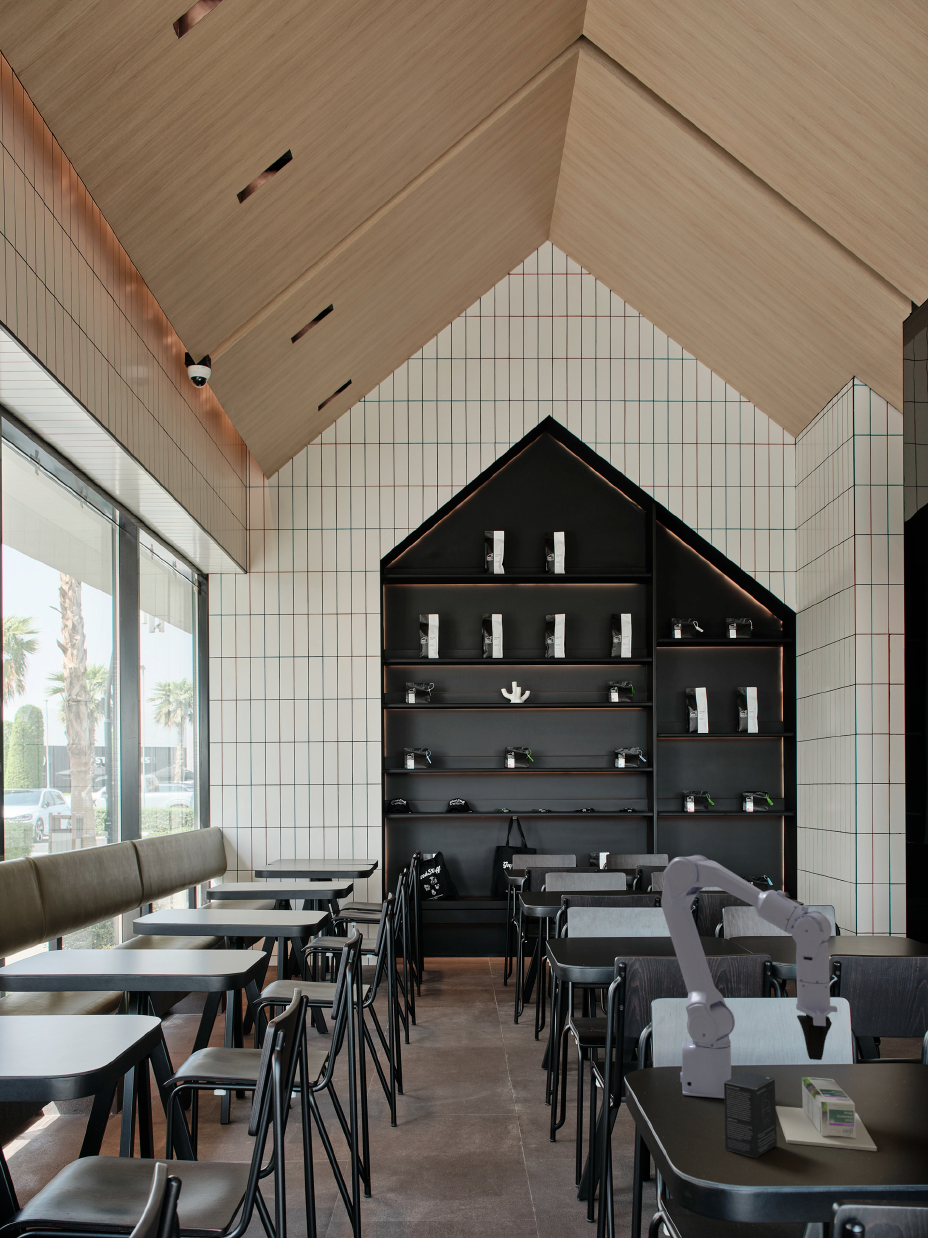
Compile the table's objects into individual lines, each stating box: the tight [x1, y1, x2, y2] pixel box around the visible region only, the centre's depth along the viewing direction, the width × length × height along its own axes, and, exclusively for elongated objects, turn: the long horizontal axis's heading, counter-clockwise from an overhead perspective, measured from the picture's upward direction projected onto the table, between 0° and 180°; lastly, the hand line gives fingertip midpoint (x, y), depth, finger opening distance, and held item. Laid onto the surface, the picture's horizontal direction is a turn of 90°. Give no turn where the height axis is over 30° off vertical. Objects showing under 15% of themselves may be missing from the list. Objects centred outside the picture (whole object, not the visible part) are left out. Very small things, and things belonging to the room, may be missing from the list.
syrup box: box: [801, 1076, 856, 1139], centre depth 175 cm, size 6×6×14 cm
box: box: [723, 1071, 778, 1159], centre depth 165 cm, size 8×6×11 cm
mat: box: [776, 1105, 878, 1152], centre depth 174 cm, size 14×18×1 cm
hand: (815, 1059), depth 183 cm, fingers closed
